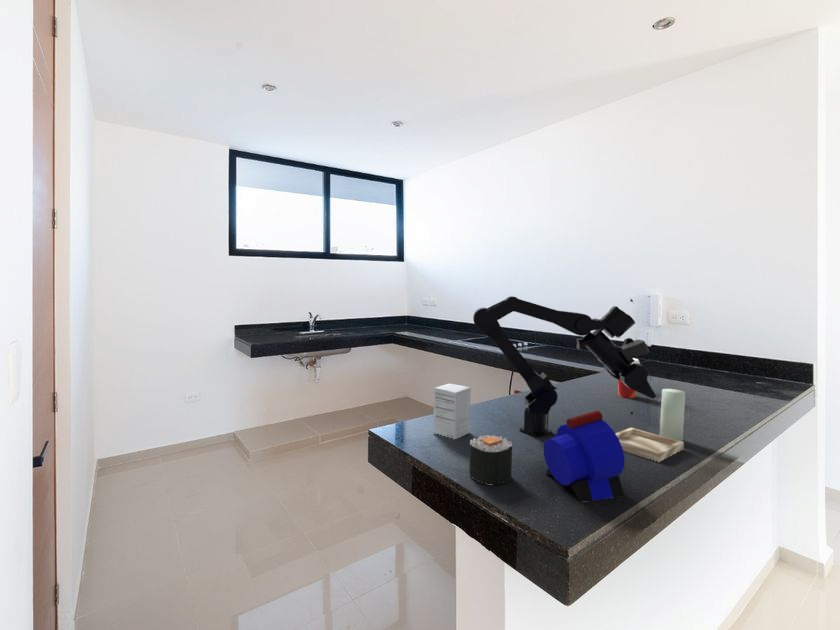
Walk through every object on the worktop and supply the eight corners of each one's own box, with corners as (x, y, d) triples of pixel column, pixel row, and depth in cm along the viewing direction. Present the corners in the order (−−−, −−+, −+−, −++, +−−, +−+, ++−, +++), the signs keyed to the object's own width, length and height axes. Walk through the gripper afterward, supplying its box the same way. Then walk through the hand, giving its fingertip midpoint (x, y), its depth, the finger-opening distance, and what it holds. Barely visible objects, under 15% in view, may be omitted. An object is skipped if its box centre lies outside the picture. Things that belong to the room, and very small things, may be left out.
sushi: (518, 478, 86) (519, 440, 85) (489, 489, 81) (490, 449, 80) (490, 464, 92) (491, 429, 92) (461, 473, 88) (462, 436, 87)
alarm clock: (627, 496, 79) (631, 419, 78) (572, 505, 76) (575, 424, 75) (585, 469, 91) (587, 401, 90) (535, 475, 87) (538, 405, 86)
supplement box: (448, 426, 117) (449, 382, 116) (470, 433, 112) (471, 387, 112) (432, 433, 111) (433, 387, 111) (455, 440, 107) (456, 392, 106)
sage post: (677, 445, 106) (680, 394, 105) (655, 438, 110) (658, 390, 109) (686, 440, 109) (688, 392, 108) (664, 435, 113) (667, 387, 112)
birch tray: (658, 462, 95) (659, 453, 95) (604, 444, 105) (605, 436, 105) (683, 450, 102) (684, 442, 102) (630, 434, 113) (631, 427, 113)
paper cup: (642, 399, 150) (644, 360, 149) (621, 398, 150) (622, 360, 149) (631, 393, 158) (633, 357, 157) (611, 393, 158) (613, 356, 157)
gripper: (641, 333, 100) (689, 380, 99) (617, 326, 119) (657, 365, 118) (606, 364, 102) (652, 410, 101) (587, 352, 120) (626, 392, 119)
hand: (647, 392), depth 110 cm, fingers open, 9 cm apart
